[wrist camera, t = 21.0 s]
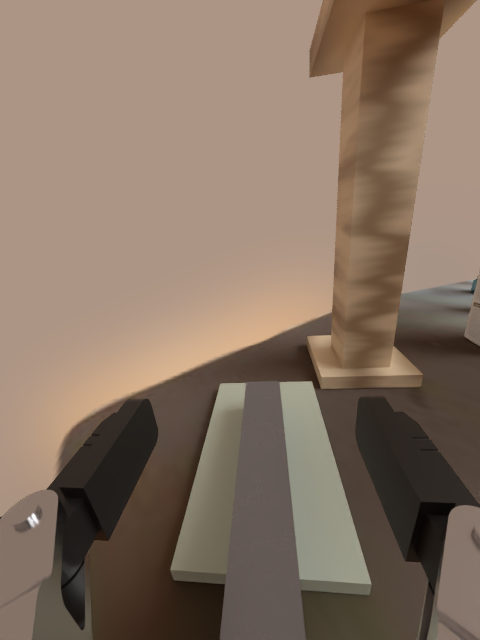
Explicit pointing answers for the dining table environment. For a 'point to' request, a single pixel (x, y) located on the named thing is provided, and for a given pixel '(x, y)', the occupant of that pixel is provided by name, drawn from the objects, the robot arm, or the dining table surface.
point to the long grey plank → (262, 529)
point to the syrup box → (474, 317)
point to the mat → (306, 493)
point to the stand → (375, 175)
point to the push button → (474, 286)
